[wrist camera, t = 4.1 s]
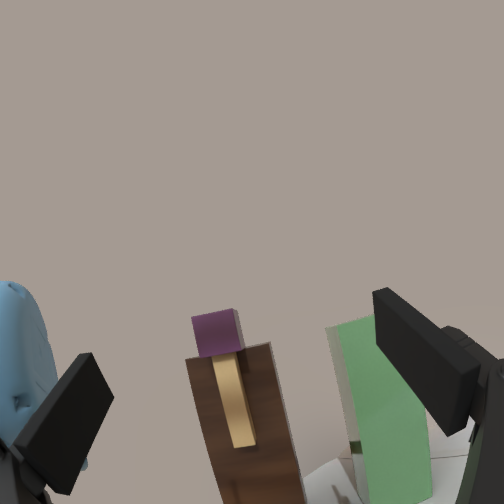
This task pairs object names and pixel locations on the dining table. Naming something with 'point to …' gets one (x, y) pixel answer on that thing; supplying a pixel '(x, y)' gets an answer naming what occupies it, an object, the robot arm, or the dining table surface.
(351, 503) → the dining table surface
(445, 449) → the dining table surface
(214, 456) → the stand
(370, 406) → the green stand
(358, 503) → the dining table surface
